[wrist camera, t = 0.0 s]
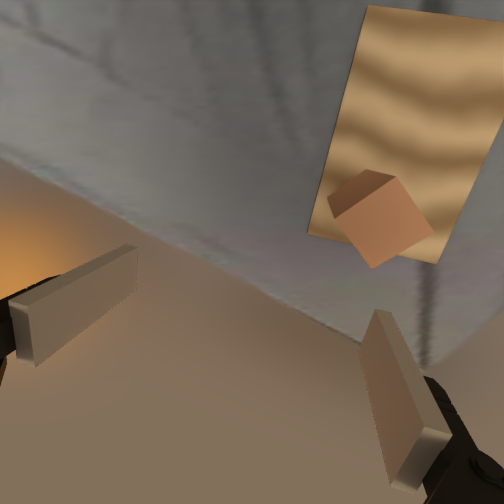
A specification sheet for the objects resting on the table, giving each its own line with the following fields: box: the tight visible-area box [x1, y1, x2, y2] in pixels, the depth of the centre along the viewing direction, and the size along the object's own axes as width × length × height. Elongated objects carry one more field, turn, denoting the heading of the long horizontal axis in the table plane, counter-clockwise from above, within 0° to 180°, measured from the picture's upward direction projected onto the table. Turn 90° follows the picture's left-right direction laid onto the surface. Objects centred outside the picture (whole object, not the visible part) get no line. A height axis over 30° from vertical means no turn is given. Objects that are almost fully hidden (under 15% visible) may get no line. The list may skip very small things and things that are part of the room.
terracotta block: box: [327, 169, 435, 269], centre depth 31 cm, size 6×6×14 cm
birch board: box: [307, 5, 504, 264], centre depth 35 cm, size 27×18×1 cm, turn 169°
